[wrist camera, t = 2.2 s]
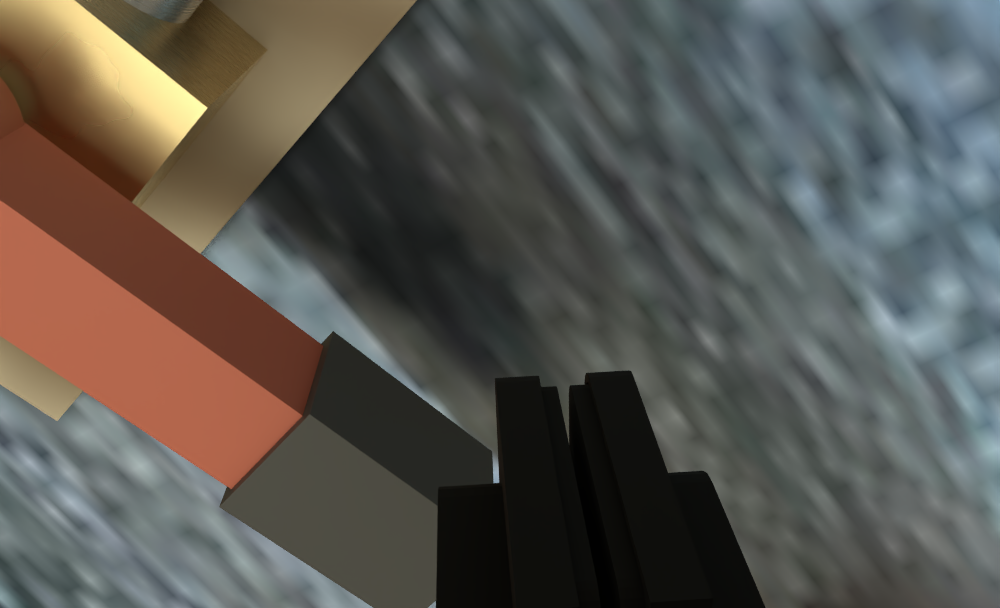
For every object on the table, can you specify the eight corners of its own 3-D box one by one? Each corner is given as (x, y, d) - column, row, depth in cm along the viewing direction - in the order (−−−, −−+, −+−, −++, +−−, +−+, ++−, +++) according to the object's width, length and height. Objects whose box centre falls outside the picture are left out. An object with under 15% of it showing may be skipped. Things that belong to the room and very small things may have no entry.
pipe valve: (160, -336, 23) (31, -416, 16) (395, -107, 26) (370, -95, 19) (-181, 181, 29) (-386, 284, 22) (41, 331, 31) (-81, 466, 24)
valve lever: (-163, 117, 20) (-311, 178, 16) (-78, -14, 19) (-215, 18, 15) (406, 516, 25) (396, 635, 21) (499, 430, 24) (505, 538, 20)
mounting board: (139, -477, 23) (118, -499, 21) (504, -107, 26) (506, -106, 25) (-265, 174, 29) (-301, 189, 28) (74, 397, 33) (57, 421, 32)
